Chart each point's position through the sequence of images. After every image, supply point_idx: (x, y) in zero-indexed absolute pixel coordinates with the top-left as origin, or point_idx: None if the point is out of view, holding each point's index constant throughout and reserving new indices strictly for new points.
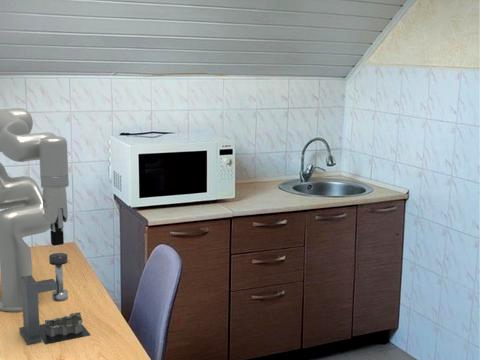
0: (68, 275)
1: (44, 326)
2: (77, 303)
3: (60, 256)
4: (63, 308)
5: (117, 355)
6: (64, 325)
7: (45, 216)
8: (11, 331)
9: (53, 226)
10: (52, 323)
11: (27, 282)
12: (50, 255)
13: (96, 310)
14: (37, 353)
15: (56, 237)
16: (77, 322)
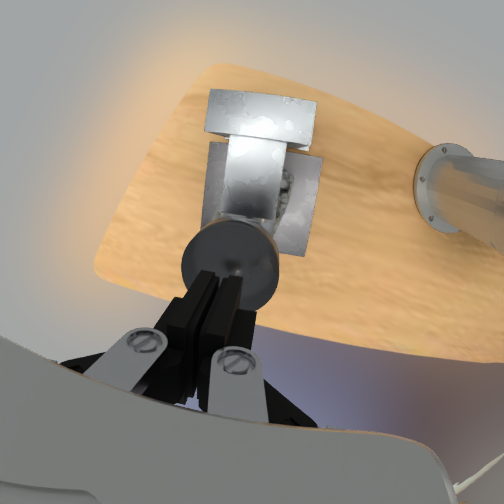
0: (486, 327)
1: (304, 176)
2: (375, 290)
3: None
4: (372, 255)
5: (102, 240)
6: (278, 215)
7: (163, 457)
8: (324, 107)
9: (94, 364)
10: (288, 191)
11: (233, 100)
12: (257, 241)
13: (314, 305)
14: (180, 115)
15: (162, 321)
16: None
